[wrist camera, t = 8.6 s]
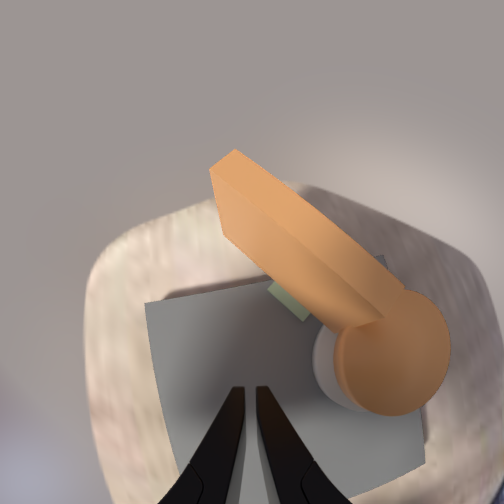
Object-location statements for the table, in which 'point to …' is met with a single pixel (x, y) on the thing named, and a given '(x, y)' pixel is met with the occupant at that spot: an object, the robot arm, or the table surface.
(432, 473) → the table surface
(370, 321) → the lever cap
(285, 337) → the base
